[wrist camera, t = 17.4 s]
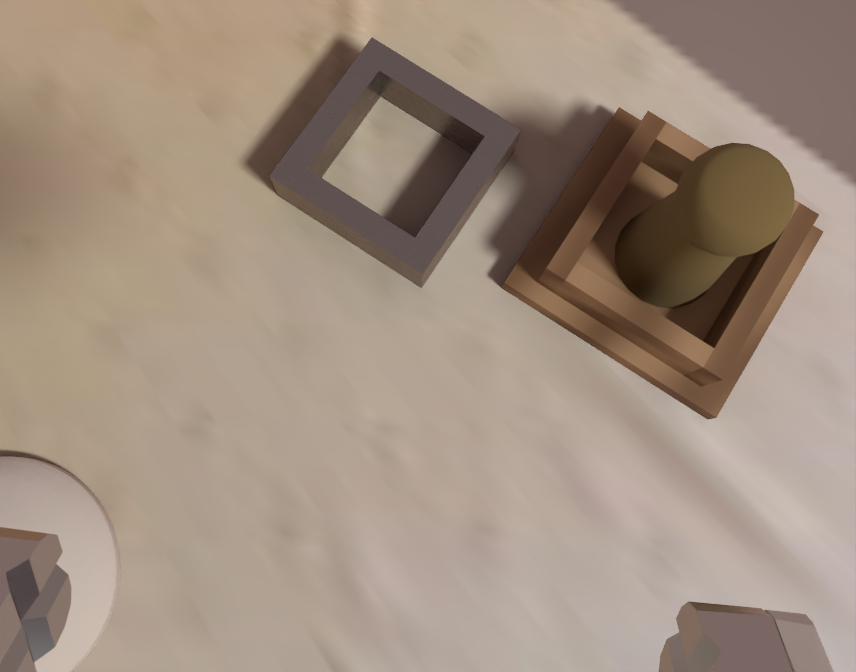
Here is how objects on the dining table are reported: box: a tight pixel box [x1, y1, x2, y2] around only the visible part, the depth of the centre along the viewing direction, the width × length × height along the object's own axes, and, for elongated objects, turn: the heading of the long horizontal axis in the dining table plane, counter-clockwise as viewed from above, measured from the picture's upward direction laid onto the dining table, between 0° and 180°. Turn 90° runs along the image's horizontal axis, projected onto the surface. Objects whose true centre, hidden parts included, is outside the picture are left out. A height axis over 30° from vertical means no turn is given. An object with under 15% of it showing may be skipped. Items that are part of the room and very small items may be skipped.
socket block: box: [269, 38, 521, 288], centre depth 45 cm, size 10×10×3 cm
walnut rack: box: [502, 108, 823, 419], centre depth 44 cm, size 14×13×4 cm
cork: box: [615, 143, 794, 308], centre depth 40 cm, size 6×6×11 cm
